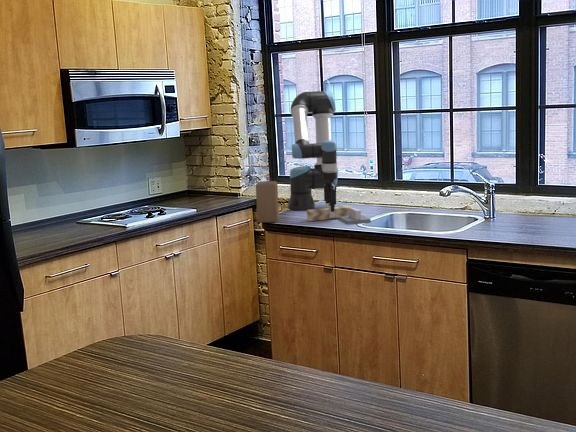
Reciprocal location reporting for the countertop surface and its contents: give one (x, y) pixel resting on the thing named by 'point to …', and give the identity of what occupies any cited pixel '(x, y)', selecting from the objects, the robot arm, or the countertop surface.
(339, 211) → the beech bar
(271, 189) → the wooden block
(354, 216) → the fulcrum
